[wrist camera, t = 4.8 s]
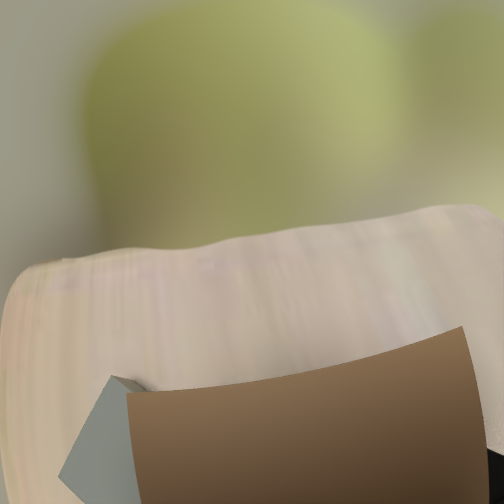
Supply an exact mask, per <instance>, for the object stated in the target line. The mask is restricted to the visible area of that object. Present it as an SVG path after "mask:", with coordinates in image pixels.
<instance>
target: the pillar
mask: <svg viewBox="0 0 504 504" xmlns="http://www.w3.org/2000/svg"><path fill="white" fill-rule="evenodd" d="M126 397H127V409H128V419H129V429H130V437H131V445H132V453H133V460H134V466H135V472H136V478H137V484H138V489H139V494H140V499H141V504H489V472H488V457H487V446H486V437H485V429H484V421H483V415H482V409H481V403H480V397H479V392H478V387H477V382H476V377H475V373H474V369H473V364H472V360H471V356H470V352H469V349H468V345H467V341H466V338H465V334H464V331H463V327H462V326H461V327H458V328H455V329H453V330H450V331H448V332H445V333H442V334H439V335H437V336H434V337H431V338H428V339H425V340H422V341H419V342H416V343H413V344H410V345H407V346H404V347H401V348H398V349H394V350H391V351H388V352H384V353H381V354H377V355H374V356H370V357H367V358H363V359H359V360H355V361H352V362H348V363H344V364H340V365H335V366H331V367H327V368H322V369H318V370H313V371H309V372H304V373H299V374H294V375H288V376H283V377H278V378H272V379H266V380H260V381H253V382H247V383H240V384H232V385H225V386H216V387H207V388H197V389H186V390H174V391H158V392H135V393H126Z"/></svg>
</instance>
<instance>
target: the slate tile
mask: <svg viewBox="0 0 504 504" xmlns="http://www.w3.org/2000/svg"><path fill="white" fill-rule="evenodd" d="M135 392H148V391H147V390H145V389H144V388H143V387H141V386H140V385H139V384H137V383H136V382H135V381H133V380H129V379H125V378H121V377H117V376H113V375H111V377H110V379H109V380H108V382H107V384H106V386H105V387H104V389H103V391H102V393H101V395H100V396H99V398H98V400H97V402H96V404H95V406H94V407H93V409H92V411H91V413H90V415H89V417H88V418H87V420H86V422H85V424H84V426H83V428H82V430H81V432H80V434H79V436H78V438H77V439H76V441H75V443H74V445H73V447H72V449H71V451H70V453H69V455H68V457H67V459H66V461H65V463H64V465H63V467H62V469H61V471H60V474H59V476H58V477H59V479H60V480H61V481H62V482H63V483H64V484H65V485H66V486H67V487H68V488H69V489H70V490H71V491H72V492H73V493H74V494H75V495H76V496H77V497H78V498H80V499H81V500H82V501H83V502H84V503H85V504H141V499H140V494H139V489H138V484H137V478H136V472H135V466H134V460H133V453H132V445H131V437H130V429H129V419H128V409H127V397H126V393H135Z"/></svg>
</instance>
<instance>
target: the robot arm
mask: <svg viewBox="0 0 504 504" xmlns="http://www.w3.org/2000/svg"><path fill="white" fill-rule="evenodd" d="M487 457H488V472H489V504H504V456H503V455H501V454H499V453H497V452H494V451H492V450H490V449H488V448H487Z"/></svg>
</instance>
